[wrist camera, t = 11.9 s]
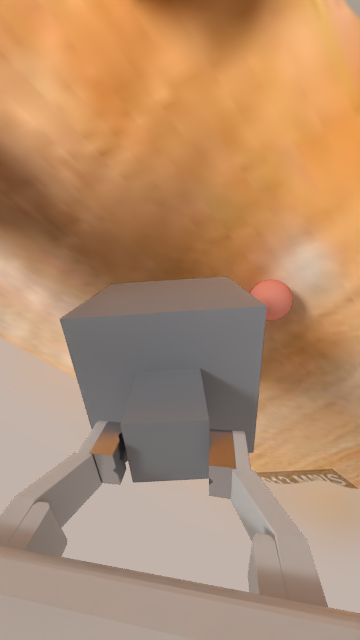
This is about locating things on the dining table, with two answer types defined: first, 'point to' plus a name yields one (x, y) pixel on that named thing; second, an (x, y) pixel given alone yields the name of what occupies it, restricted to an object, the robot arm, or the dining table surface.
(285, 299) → the ball
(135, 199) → the dining table surface
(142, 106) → the dining table surface
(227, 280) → the grey blocky shape
